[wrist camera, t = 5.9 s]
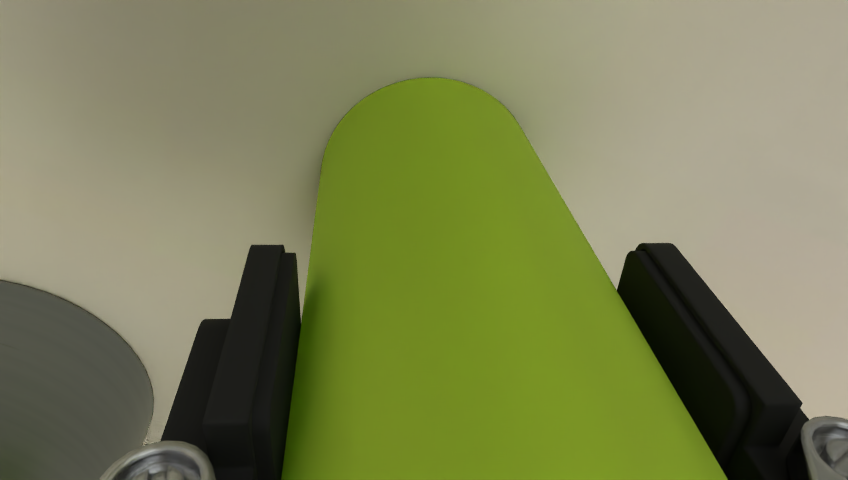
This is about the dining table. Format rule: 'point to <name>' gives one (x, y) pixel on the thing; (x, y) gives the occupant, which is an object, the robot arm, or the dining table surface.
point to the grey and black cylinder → (65, 390)
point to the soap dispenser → (467, 315)
